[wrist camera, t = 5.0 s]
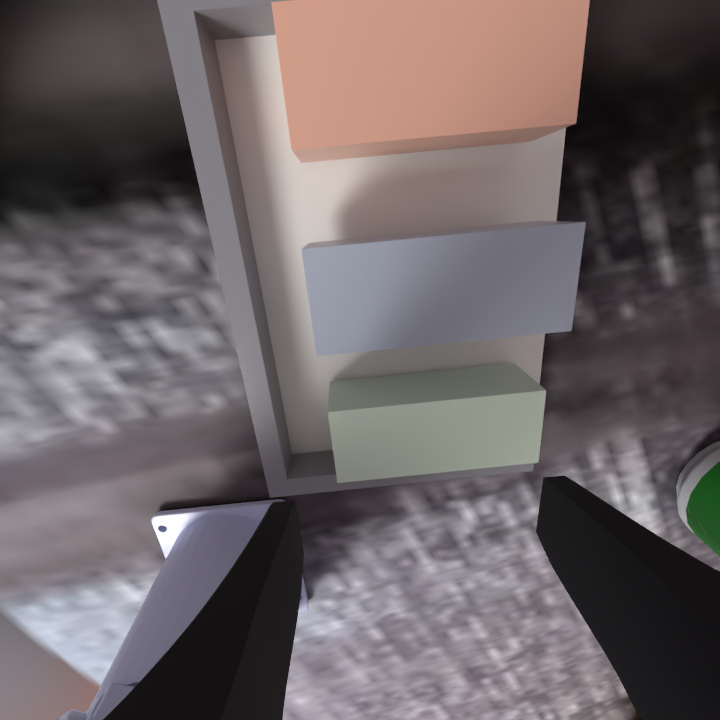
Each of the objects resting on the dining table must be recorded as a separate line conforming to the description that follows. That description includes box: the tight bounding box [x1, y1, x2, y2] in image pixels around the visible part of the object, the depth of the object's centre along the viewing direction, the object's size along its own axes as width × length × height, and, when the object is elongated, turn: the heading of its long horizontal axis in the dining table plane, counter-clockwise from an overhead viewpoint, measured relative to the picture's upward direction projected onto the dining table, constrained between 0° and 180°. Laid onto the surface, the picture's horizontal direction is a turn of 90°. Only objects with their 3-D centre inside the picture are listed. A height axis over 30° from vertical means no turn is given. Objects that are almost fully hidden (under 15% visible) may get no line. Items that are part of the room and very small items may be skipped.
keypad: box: [157, 0, 566, 498], centre depth 16 cm, size 20×14×3 cm
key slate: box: [301, 221, 586, 356], centre depth 14 cm, size 4×9×3 cm, turn 95°
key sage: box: [328, 363, 546, 483], centre depth 17 cm, size 4×9×3 cm, turn 95°
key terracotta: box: [271, 0, 590, 163], centre depth 12 cm, size 4×9×3 cm, turn 95°
